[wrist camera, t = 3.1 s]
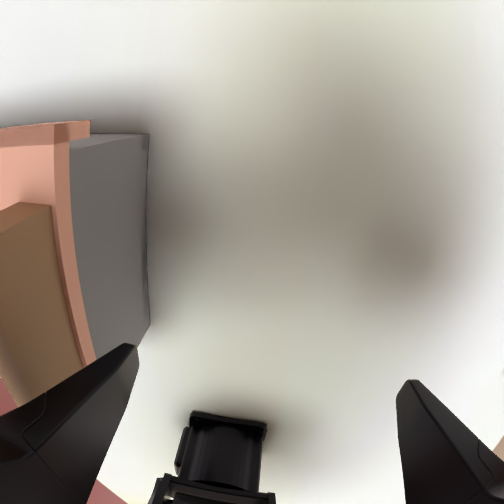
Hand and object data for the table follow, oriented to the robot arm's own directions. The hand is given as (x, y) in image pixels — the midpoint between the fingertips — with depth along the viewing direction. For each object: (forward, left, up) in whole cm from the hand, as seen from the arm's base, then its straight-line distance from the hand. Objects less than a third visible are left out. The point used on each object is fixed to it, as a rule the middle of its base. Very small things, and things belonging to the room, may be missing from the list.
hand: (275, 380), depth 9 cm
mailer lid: (+15, 0, -3) cm, 16 cm away
